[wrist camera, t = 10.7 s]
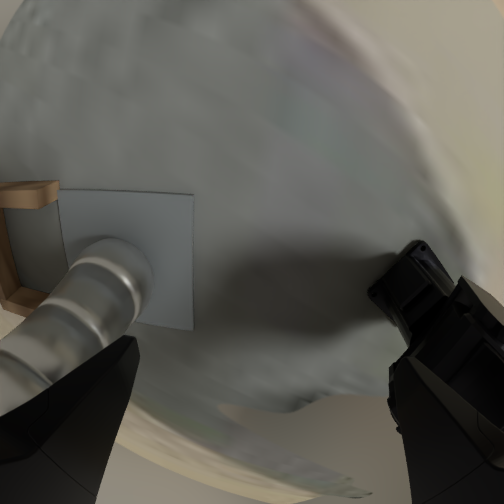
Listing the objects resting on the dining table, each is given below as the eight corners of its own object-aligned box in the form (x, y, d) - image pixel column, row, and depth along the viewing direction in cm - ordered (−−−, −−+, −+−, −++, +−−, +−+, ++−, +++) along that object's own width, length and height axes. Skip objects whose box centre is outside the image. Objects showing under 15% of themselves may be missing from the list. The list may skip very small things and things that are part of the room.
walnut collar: (58, 180, 19) (36, 190, 17) (82, 312, 25) (68, 330, 23) (-8, 183, 19) (-28, 192, 17) (17, 295, 25) (3, 309, 23)
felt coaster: (193, 194, 20) (192, 195, 19) (193, 328, 25) (193, 331, 25) (59, 188, 20) (56, 190, 19) (80, 307, 25) (78, 309, 25)
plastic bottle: (80, 240, 21) (-84, 419, 3) (144, 219, 20) (-50, 466, 2) (110, 303, 24) (1, 495, 6) (174, 292, 23) (77, 543, 5)
